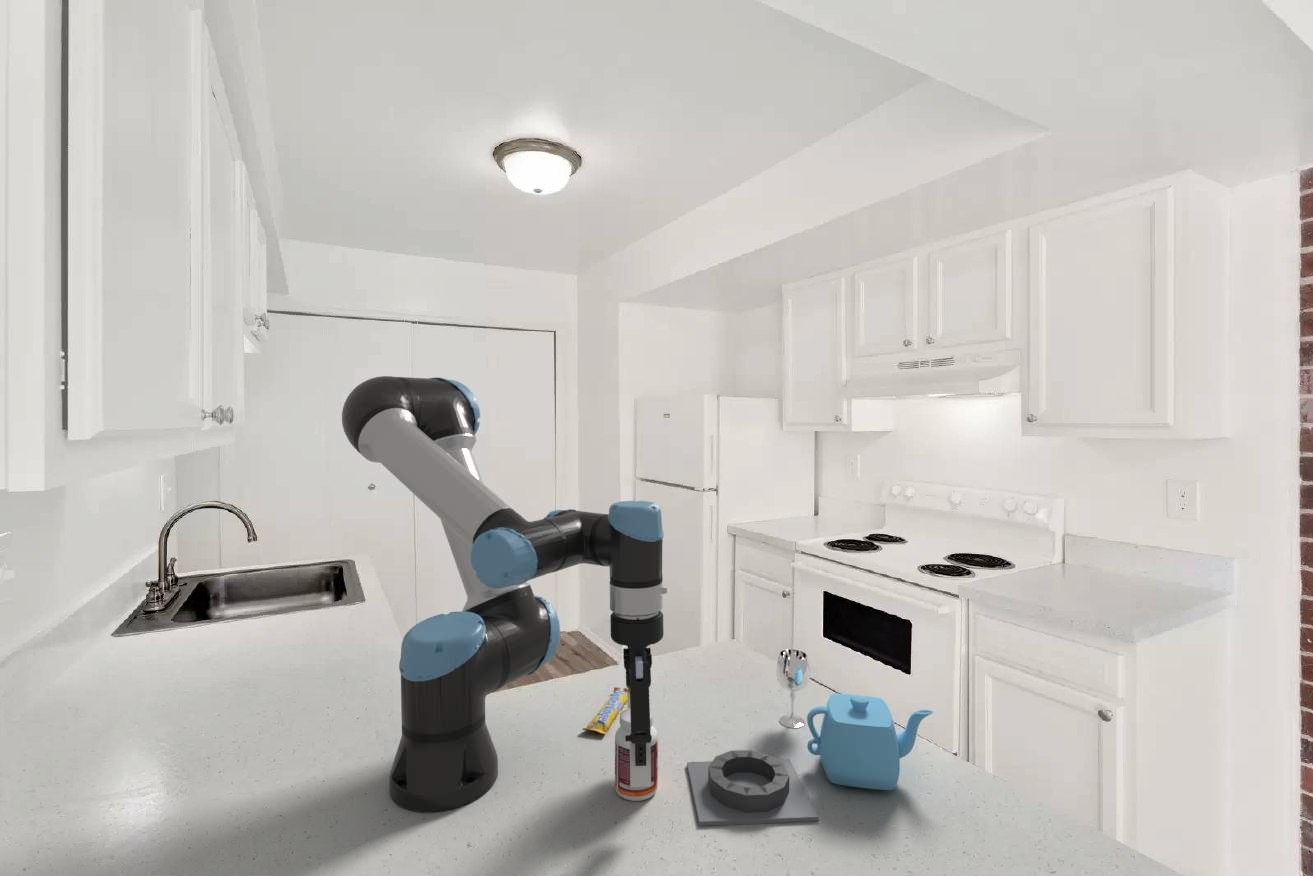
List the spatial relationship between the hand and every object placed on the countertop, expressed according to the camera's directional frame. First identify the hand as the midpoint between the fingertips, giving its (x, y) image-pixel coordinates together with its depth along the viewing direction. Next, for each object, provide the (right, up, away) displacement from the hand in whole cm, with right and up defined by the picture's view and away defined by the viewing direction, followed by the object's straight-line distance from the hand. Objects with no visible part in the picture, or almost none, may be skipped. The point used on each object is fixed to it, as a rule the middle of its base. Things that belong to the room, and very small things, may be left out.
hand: (638, 757), depth 91 cm
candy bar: (-6, -4, +23) cm, 24 cm away
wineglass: (+26, -4, +20) cm, 34 cm away
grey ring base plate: (+16, -5, 0) cm, 16 cm away
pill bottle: (0, -5, 0) cm, 5 cm away
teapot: (+34, -5, +5) cm, 35 cm away
